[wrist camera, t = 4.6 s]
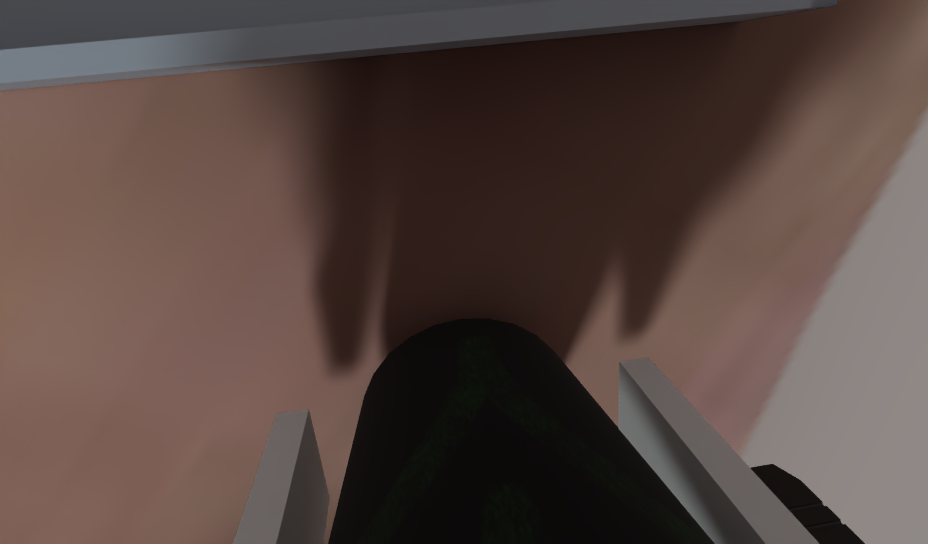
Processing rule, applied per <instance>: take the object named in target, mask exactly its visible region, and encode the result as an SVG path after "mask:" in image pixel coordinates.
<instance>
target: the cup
mask: <svg viewBox="0 0 928 544" xmlns="http://www.w3.org/2000/svg"><path fill="white" fill-rule="evenodd" d="M328 544H715V543H714V542H713V541H712V540H711V538H710V537H709V536H708V535H707V534H706V532H705V531H704V530H703V529H702V528H701V526H700V525H699V524H698V523H697V522H696V520H695V519H694V518H693V517H692V516H691V514H690V513H689V512H688V511H687V510H686V508H685V507H684V506H683V505H682V504H681V503H680V501H679V500H678V499H677V498H676V497H675V495H674V494H673V493H672V492H671V491H670V489H669V488H668V487H667V486H666V485H665V483H664V482H663V481H662V480H661V479H660V477H659V476H658V475H657V474H656V473H655V471H654V470H653V469H652V468H651V467H650V465H649V464H648V463H647V462H646V461H645V459H644V458H643V457H642V456H641V455H640V453H639V452H638V451H637V450H636V449H635V447H634V446H633V445H632V444H631V443H630V442H629V440H628V439H627V438H626V437H625V436H624V434H623V433H622V432H621V431H620V430H619V428H618V427H617V426H616V425H615V424H614V422H613V421H612V420H611V419H610V418H609V416H608V415H607V414H606V413H605V412H604V410H603V409H602V408H601V407H600V406H599V404H598V403H597V402H596V401H595V400H594V398H593V397H592V396H591V395H590V394H589V392H588V391H587V390H586V389H585V388H584V386H583V385H582V384H581V383H580V382H579V380H578V379H577V378H576V377H575V376H574V375H573V373H572V372H571V371H570V370H569V369H568V367H567V366H566V365H565V364H564V363H563V361H562V360H561V359H560V358H559V357H558V355H557V354H556V353H555V352H554V351H553V350H552V349H551V348H550V347H549V346H548V345H547V344H546V343H544V342H543V341H542V340H541V339H540V338H539V337H538V336H536V335H535V334H533V333H531V332H529V331H527V330H525V329H523V328H521V327H519V326H517V325H514V324H511V323H506V322H502V321H497V320H492V319H459V320H455V321H451V322H447V323H442V324H438V325H434V326H432V327H430V328H428V329H426V330H424V331H422V332H420V333H418V334H416V335H414V336H411V337H410V338H408V339H407V340H406V341H405V342H403V343H402V344H401V345H400V346H398V347H397V348H396V349H395V350H393V351H392V352H391V353H390V354H389V355H388V356H387V357H386V359H385V360H384V361H383V362H382V364H381V365H380V366H379V368H378V369H377V370H376V372H375V373H374V374H373V377H372V379H371V381H370V384H369V386H368V388H367V391H366V393H365V396H364V399H363V404H362V408H361V412H360V416H359V420H358V424H357V428H356V432H355V436H354V440H353V444H352V449H351V453H350V457H349V461H348V465H347V469H346V473H345V477H344V481H343V485H342V490H341V494H340V498H339V502H338V506H337V510H336V514H335V518H334V522H333V526H332V531H331V535H330V539H329V543H328Z"/></svg>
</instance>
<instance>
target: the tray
mask: <svg viewBox="0 0 928 544" xmlns="http://www.w3.org/2000/svg"><path fill="white" fill-rule="evenodd" d="M831 6H837V0H0V91H5V90H15V89H26V88H37V87H47V86H58V85H69V84H79V83H90V82H100V81H111V80H122V79H132V78H143V77H154V76H164V75H175V74H186V73H196V72H207V71H217V70H228V69H239V68H249V67H260V66H271V65H281V64H292V63H303V62H313V61H324V60H335V59H345V58H356V57H366V56H377V55H388V54H398V53H409V52H420V51H430V50H441V49H452V48H462V47H473V46H483V45H494V44H505V43H515V42H526V41H537V40H547V39H558V38H569V37H579V36H590V35H601V34H611V33H622V32H632V31H643V30H654V29H664V28H675V27H686V26H696V25H707V24H718V23H728V22H739V21H746V20H752V19H758V18H764V17H770V16H776V15H782V14H788V13H794V12H801V11H807V10H813V9H819V8H825V7H831Z"/></svg>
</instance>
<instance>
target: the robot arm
mask: <svg viewBox="0 0 928 544" xmlns="http://www.w3.org/2000/svg"><path fill="white" fill-rule="evenodd" d="M618 428H619V430H620V431H621V432H622V433H623V434H624V436H625V437H626V438H627V439H628V440H629V442H630V443H631V444H632V445H633V446H634V447H635V449H636V450H637V451H638V452H639V453H640V455H641V456H642V457H643V458H644V459H645V461H646V462H647V463H648V464H649V465H650V467H651V468H652V469H653V470H654V471H655V473H656V474H657V475H658V476H659V477H660V479H661V480H662V481H663V482H664V483H665V485H666V486H667V487H668V488H669V489H670V491H671V492H672V493H673V494H674V495H675V497H676V498H677V499H678V500H679V501H680V503H681V504H682V505H683V506H684V507H685V508H686V510H687V511H688V512H689V513H690V514H691V516H692V517H693V518H694V519H695V520H696V522H697V523H698V524H699V525H700V526H701V528H702V529H703V530H704V531H705V532H706V534H707V535H708V536H709V537H710V538H711V540H712V541H713V542H714V543H715V544H865V543H864V542H863V541H862V540H861V539H860V538H859V537H858V536H857V535H856V534H854V532H853V531H852V530H851V529H850V528H848V527H847V526H846V525H845V524H842V523H841V521H840V519H839V518H838V517H837V516H836V515H835V514H834V513H833V512H832V511H831V510H830V509H829V508H828V507H827V506H824V505H823V504H822V501H821V500H820V499H819V498H818V497H817V496H816V495H815V494H814V493H813V492H812V491H811V490H810V489H809V488H808V487H807V486H806V485H805V484H804V483H803V482H802V481H801V480H799V479H797V478H796V477H794V476H792V475H791V474H789V473H787V472H786V471H784V470H782V469H780V468H779V467H777V466H775V465H774V464H770V465H763V466H758V467H752V468H750V467H749V466H748V465H747V464H746V463H745V462H744V461H743V460H742V459H741V458H740V457H739V455H738V454H737V453H736V452H735V451H734V450H733V449H732V448H731V447H730V446H729V445H728V443H727V442H726V441H725V440H724V439H723V438H722V437H721V436H720V435H719V434H718V433H717V431H716V430H715V429H714V428H713V427H712V426H711V425H710V424H709V423H708V422H707V421H706V420H705V418H704V417H703V416H702V415H701V414H700V413H699V412H698V411H697V410H696V409H695V408H694V406H693V405H692V404H691V403H690V402H689V401H688V400H687V399H686V398H685V397H684V396H683V394H682V393H681V392H680V391H679V390H678V389H677V388H676V387H675V386H674V385H673V384H672V382H671V381H670V380H669V379H668V378H667V377H666V376H665V375H664V374H663V373H662V372H661V371H660V369H659V368H658V367H657V366H656V365H655V364H654V363H653V362H652V361H651V360H650V359H649V357H648V358H641V359H634V360H628V361H621V362H619V418H618ZM329 499H330V498H329V493H328V489H327V485H326V480H325V476H324V472H323V468H322V463H321V459H320V455H319V450H318V446H317V442H316V438H315V433H314V429H313V425H312V420H311V416H310V412H309V409H305V410H298V411H292V412H285V413H279V414H276V416H275V419H274V422H273V425H272V428H271V431H270V434H269V437H268V440H267V443H266V446H265V449H264V452H263V455H262V458H261V461H260V464H259V467H258V470H257V473H256V476H255V479H254V482H253V485H252V488H251V491H250V494H249V497H248V500H247V503H246V506H245V509H244V512H243V515H242V518H241V520H240V523H239V526H238V529H237V532H236V535H235V538H234V541H233V544H323V542H324V535H325V528H326V521H327V514H328V506H329Z"/></svg>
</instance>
